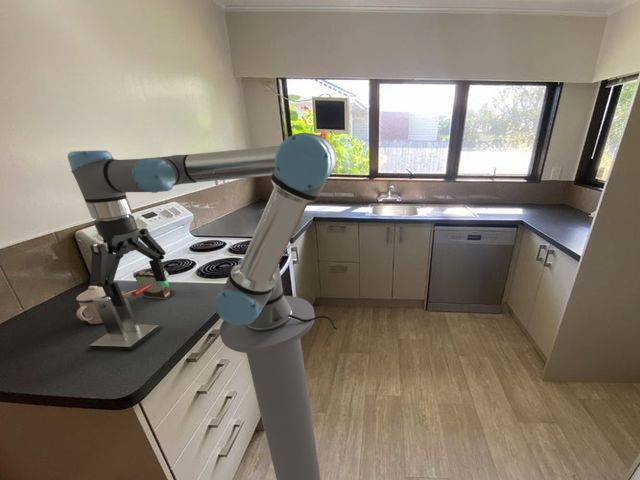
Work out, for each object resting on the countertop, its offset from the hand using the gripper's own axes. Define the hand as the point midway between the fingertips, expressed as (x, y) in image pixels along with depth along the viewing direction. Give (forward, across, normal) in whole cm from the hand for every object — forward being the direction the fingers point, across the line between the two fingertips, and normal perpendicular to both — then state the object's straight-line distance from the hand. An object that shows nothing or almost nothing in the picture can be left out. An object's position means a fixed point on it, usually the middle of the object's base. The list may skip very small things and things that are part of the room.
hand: (142, 292), depth 79 cm
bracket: (+16, 0, -10) cm, 19 cm away
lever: (+2, 0, -5) cm, 5 cm away
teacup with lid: (+16, -9, -27) cm, 33 cm away
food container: (+16, -26, -20) cm, 37 cm away
